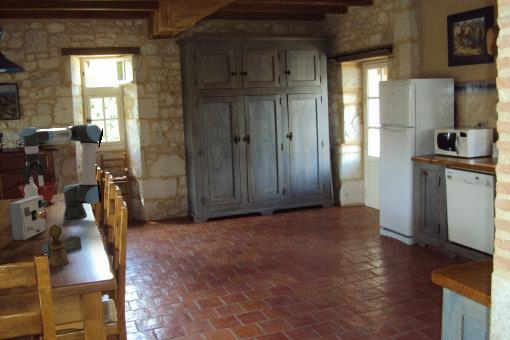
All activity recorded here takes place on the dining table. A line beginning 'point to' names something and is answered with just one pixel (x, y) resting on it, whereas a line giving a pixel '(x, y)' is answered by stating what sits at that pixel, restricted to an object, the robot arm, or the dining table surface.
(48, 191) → the mixing bowl
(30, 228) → the steel lever
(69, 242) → the beverage carton
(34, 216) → the brass plunger
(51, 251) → the brass bell
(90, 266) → the dining table surface
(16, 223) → the control box
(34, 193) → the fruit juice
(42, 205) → the black plunger
